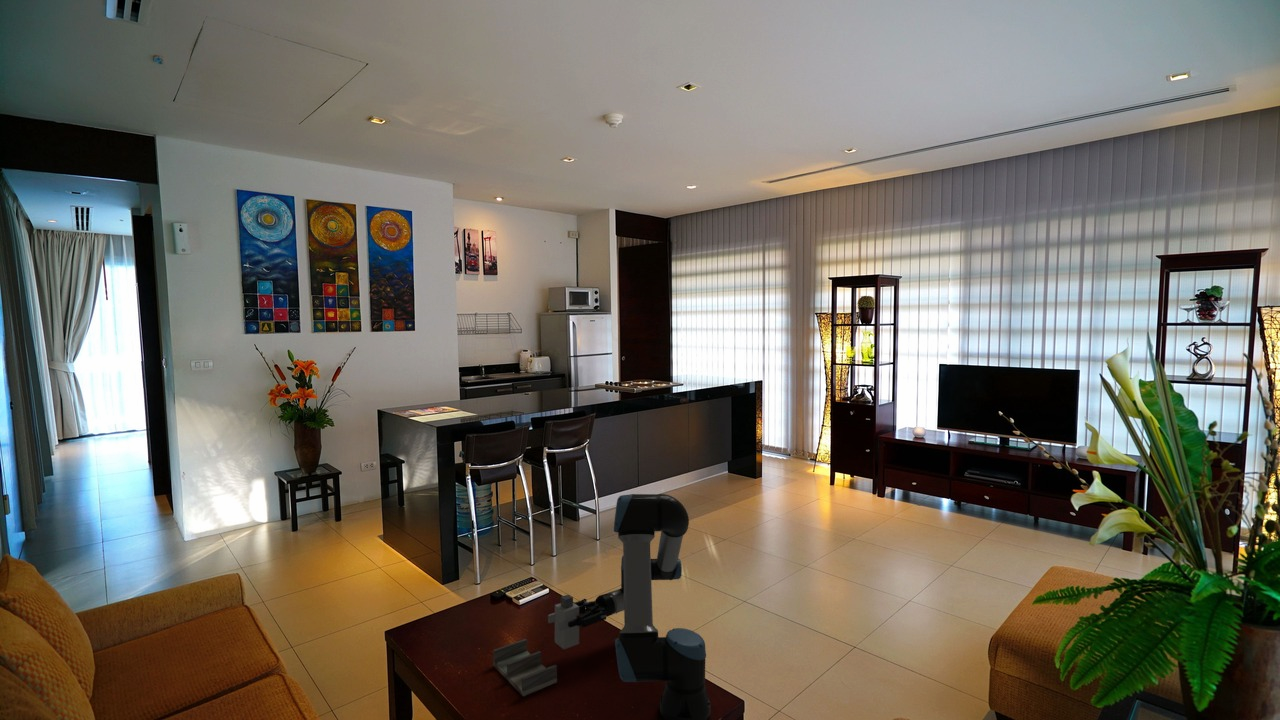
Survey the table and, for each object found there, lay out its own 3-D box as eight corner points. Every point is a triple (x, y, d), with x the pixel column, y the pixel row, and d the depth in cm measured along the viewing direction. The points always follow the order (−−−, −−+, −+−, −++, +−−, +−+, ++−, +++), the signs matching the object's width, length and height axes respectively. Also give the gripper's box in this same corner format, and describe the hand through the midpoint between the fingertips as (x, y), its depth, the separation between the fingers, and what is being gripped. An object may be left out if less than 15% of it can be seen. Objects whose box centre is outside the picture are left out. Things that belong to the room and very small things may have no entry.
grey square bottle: (579, 643, 207) (579, 597, 206) (563, 649, 203) (564, 602, 202) (569, 636, 211) (569, 591, 210) (554, 642, 207) (554, 596, 207)
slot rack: (556, 682, 195) (556, 665, 194) (523, 696, 187) (523, 679, 187) (525, 653, 211) (525, 638, 211) (493, 665, 204) (493, 650, 203)
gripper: (625, 624, 211) (568, 645, 196) (594, 604, 225) (539, 623, 211) (625, 603, 210) (568, 622, 196) (594, 584, 225) (539, 601, 210)
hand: (553, 622), depth 203 cm, fingers closed on grey square bottle, 6 cm apart
